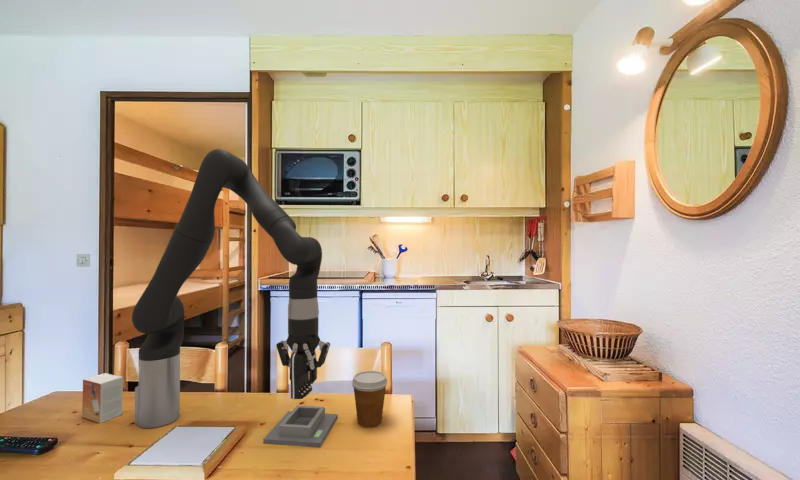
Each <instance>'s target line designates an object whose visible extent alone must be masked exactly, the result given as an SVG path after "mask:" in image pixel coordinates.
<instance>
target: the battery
mask: <svg viewBox="0 0 800 480" xmlns="http://www.w3.org/2000/svg"><path fill="white" fill-rule="evenodd" d="M291 353H292V352H291ZM311 355H312V354H311ZM290 357H291V359H290V369H289V377H290V376H291V381H290V399H292V400H302V399H304V398H305V397H307V396H308V395H309V394H310V393H312V391H313V387H312V384H309V370H310V366H309V362H308V361H307V356H306V354H305V352H298V351H297V352H294V353H292V355H291V354H290Z"/></svg>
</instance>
